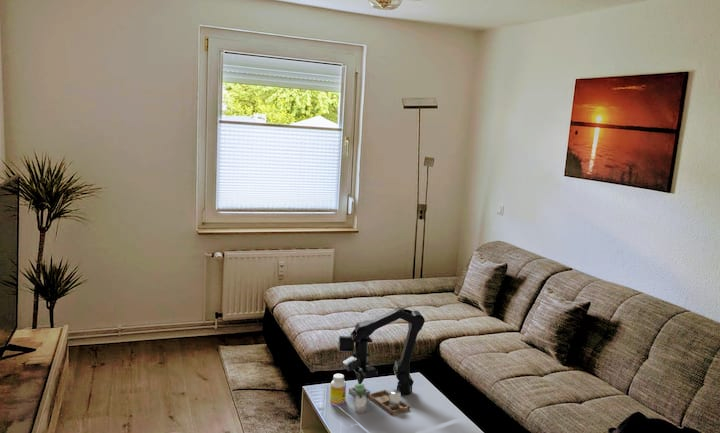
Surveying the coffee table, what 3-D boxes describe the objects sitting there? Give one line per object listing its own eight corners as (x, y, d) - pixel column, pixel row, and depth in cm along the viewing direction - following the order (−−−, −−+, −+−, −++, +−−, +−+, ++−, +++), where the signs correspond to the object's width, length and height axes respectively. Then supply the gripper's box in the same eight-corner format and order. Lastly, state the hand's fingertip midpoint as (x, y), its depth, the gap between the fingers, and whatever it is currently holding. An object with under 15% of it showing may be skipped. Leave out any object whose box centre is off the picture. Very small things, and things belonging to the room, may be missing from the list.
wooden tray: (384, 395, 258) (384, 389, 258) (409, 412, 243) (409, 406, 243) (367, 399, 253) (367, 394, 252) (391, 417, 238) (392, 411, 237)
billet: (361, 409, 244) (362, 393, 243) (368, 414, 240) (369, 398, 239) (352, 411, 242) (352, 396, 241) (358, 416, 238) (359, 401, 237)
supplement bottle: (343, 407, 245) (344, 379, 243) (328, 405, 246) (329, 378, 244) (346, 400, 251) (347, 373, 249) (332, 398, 253) (333, 371, 251)
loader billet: (395, 403, 248) (396, 388, 246) (402, 408, 243) (403, 393, 242) (386, 406, 245) (386, 391, 244) (393, 411, 241) (393, 396, 240)
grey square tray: (361, 391, 261) (361, 385, 260) (369, 397, 255) (370, 391, 255) (348, 394, 257) (348, 388, 257) (356, 401, 251) (357, 394, 251)
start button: (360, 389, 259) (360, 382, 258) (366, 393, 255) (366, 386, 255) (352, 391, 256) (352, 384, 256) (357, 395, 253) (358, 388, 252)
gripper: (335, 347, 256) (334, 379, 258) (357, 361, 241) (356, 396, 243) (355, 342, 262) (354, 374, 265) (378, 356, 247) (377, 390, 249)
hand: (359, 383), depth 255 cm, fingers closed
